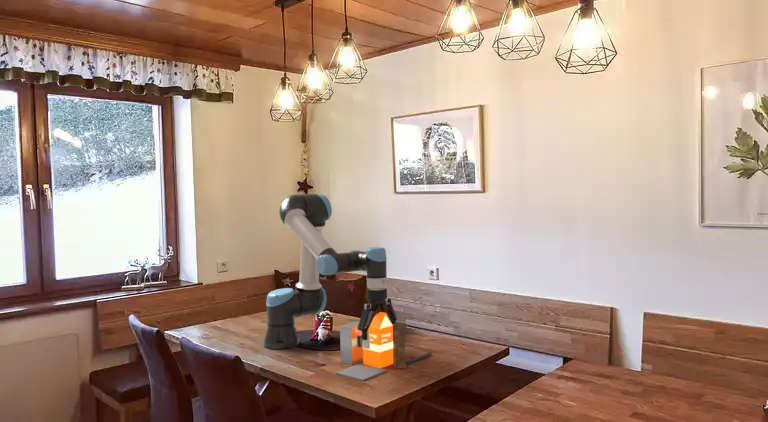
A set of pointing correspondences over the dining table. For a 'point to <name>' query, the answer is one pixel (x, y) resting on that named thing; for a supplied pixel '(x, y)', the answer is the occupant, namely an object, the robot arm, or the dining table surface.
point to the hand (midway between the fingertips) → (378, 344)
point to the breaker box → (351, 343)
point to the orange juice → (379, 342)
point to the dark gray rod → (418, 358)
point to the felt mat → (361, 372)
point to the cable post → (400, 345)
